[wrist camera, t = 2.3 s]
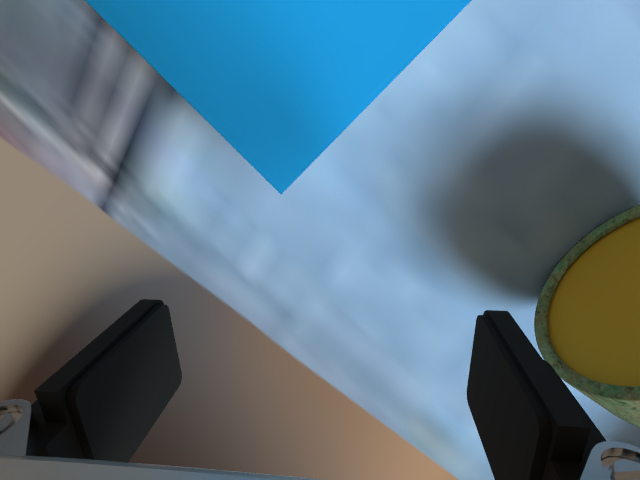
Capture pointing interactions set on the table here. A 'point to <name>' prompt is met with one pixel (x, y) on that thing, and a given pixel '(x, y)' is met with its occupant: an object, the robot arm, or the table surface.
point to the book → (279, 64)
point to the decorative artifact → (597, 316)
